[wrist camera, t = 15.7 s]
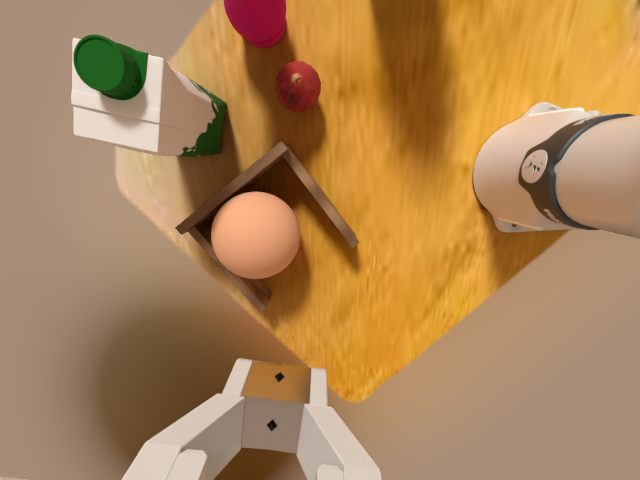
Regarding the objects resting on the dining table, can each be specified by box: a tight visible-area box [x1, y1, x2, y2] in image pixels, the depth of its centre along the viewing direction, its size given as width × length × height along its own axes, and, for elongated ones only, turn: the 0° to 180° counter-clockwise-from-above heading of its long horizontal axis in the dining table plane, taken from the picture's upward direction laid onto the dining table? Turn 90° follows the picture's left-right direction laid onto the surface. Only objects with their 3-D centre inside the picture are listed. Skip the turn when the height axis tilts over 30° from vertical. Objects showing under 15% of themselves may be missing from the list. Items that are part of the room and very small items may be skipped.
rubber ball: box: [211, 192, 300, 279], centre depth 41 cm, size 12×12×12 cm
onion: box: [276, 61, 321, 112], centre depth 38 cm, size 6×6×8 cm
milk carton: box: [71, 35, 226, 157], centre depth 33 cm, size 9×9×20 cm
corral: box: [176, 141, 359, 313], centre depth 43 cm, size 17×18×7 cm
